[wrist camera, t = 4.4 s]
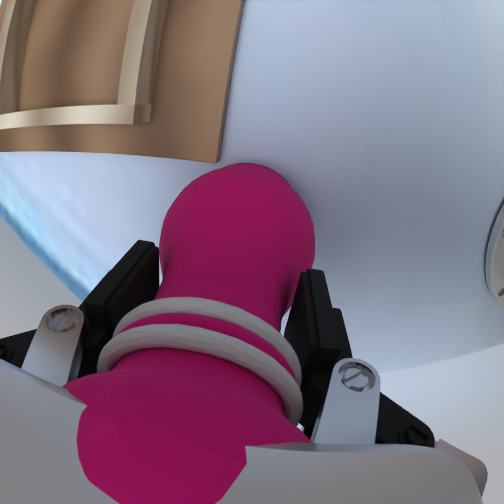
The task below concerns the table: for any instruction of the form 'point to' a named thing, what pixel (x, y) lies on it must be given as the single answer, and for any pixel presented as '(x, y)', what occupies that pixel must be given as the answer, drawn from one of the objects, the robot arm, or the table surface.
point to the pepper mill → (202, 347)
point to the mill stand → (117, 76)
